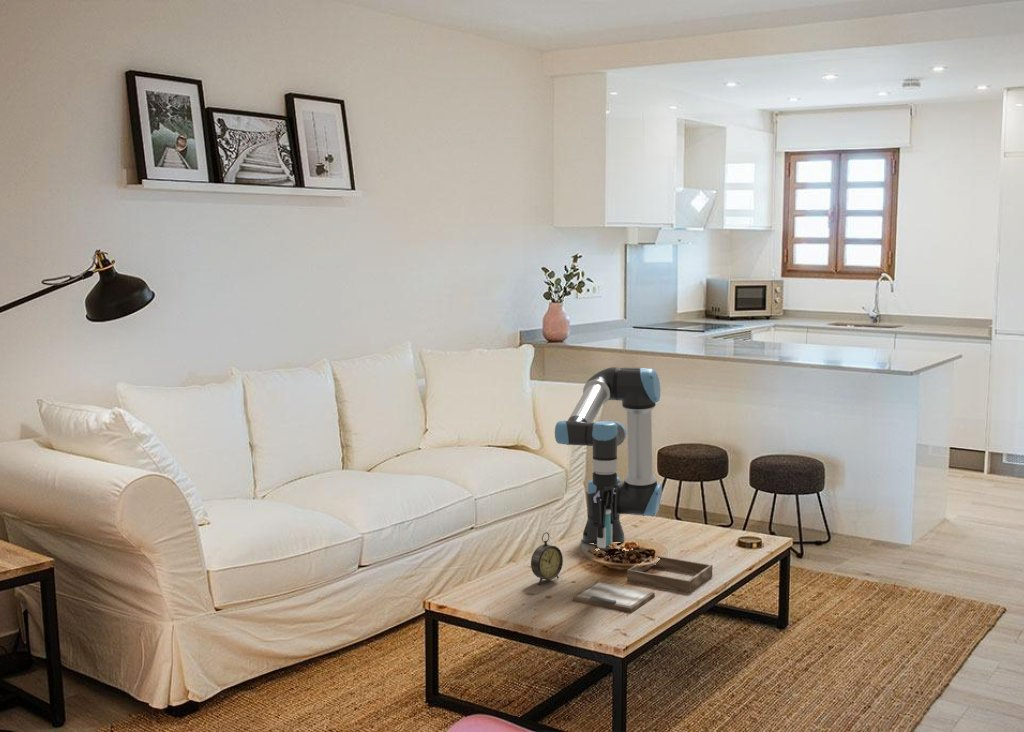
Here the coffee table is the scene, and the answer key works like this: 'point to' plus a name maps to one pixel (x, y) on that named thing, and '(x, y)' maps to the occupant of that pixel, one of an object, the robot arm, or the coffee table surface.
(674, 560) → the gray brown tray
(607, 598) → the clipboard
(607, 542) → the cylinder
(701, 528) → the coffee table surface
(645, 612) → the coffee table surface
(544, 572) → the alarm clock
